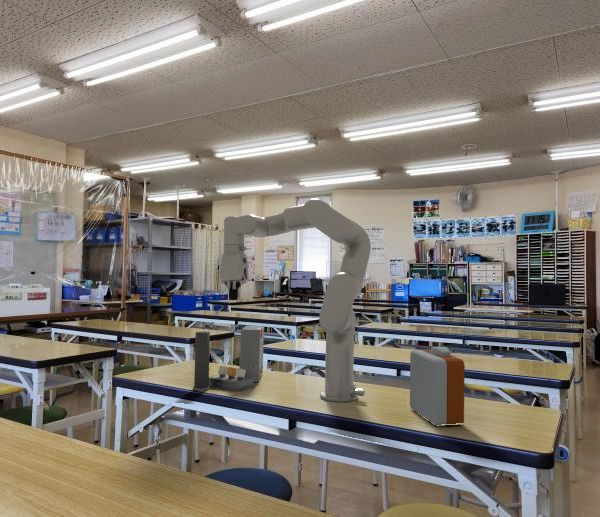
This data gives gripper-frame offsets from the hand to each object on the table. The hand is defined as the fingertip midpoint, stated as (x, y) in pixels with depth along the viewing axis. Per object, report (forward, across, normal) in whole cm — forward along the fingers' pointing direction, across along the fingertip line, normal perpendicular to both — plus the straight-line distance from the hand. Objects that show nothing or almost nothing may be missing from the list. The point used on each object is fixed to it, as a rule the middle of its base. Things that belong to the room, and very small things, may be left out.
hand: (233, 299), depth 171 cm
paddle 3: (+28, +5, 0) cm, 29 cm away
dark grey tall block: (+31, +7, +9) cm, 33 cm away
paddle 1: (+28, -3, 0) cm, 29 cm away
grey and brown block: (+32, -72, -2) cm, 79 cm away
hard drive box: (+32, +2, -15) cm, 35 cm away
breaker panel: (+31, +1, 0) cm, 31 cm away
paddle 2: (+28, +1, 0) cm, 28 cm away
